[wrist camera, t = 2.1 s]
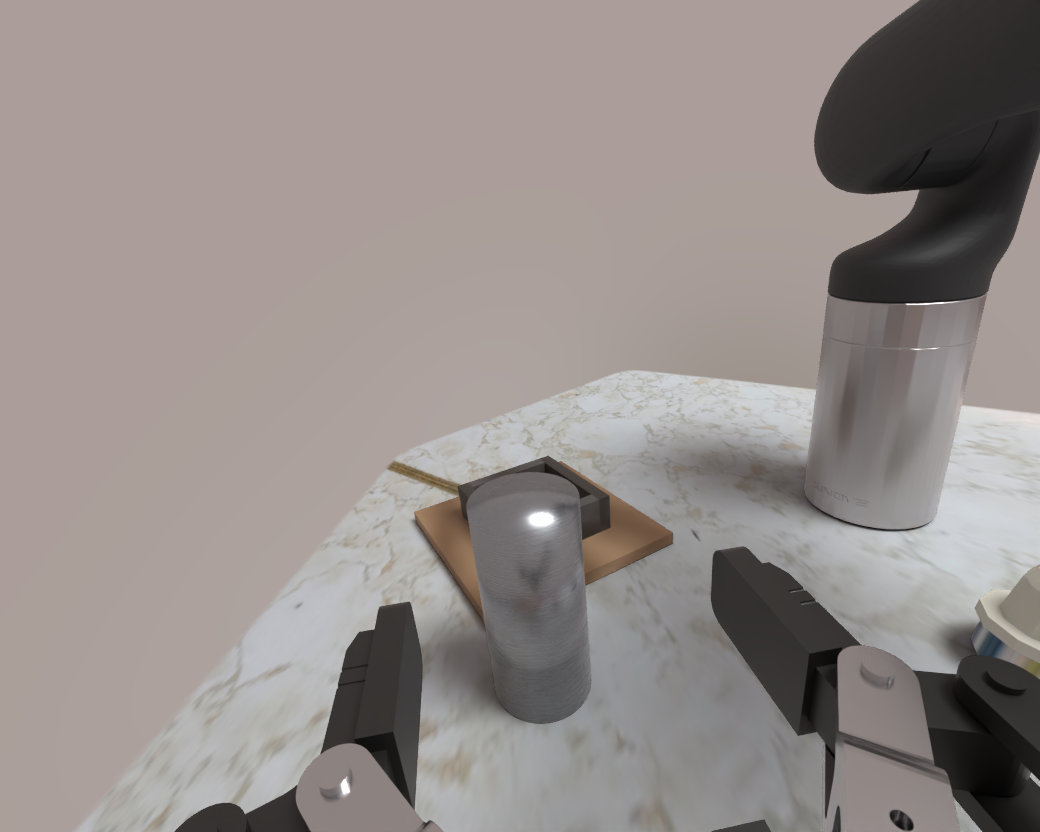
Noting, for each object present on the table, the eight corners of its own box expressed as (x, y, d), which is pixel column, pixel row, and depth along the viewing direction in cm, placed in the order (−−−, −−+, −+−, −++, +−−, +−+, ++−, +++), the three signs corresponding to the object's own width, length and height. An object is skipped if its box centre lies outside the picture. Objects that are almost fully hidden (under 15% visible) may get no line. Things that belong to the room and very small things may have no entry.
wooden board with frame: (561, 469, 53) (559, 435, 51) (672, 543, 40) (673, 499, 38) (416, 521, 46) (408, 483, 45) (490, 631, 33) (482, 581, 31)
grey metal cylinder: (557, 627, 33) (542, 462, 28) (611, 690, 28) (603, 504, 24) (479, 667, 30) (449, 494, 26) (524, 743, 26) (496, 547, 21)
